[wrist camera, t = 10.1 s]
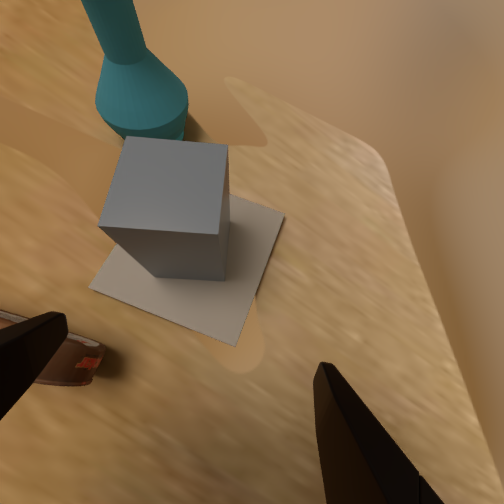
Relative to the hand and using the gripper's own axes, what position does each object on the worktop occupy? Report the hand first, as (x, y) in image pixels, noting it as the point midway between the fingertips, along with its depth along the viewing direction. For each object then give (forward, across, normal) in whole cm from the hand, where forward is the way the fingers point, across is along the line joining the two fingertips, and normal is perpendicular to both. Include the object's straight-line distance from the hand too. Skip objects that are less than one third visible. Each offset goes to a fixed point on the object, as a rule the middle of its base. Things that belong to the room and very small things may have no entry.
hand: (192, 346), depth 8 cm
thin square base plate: (+16, +4, +4) cm, 17 cm away
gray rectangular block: (+15, +4, +3) cm, 16 cm away
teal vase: (+26, +13, -6) cm, 29 cm away
